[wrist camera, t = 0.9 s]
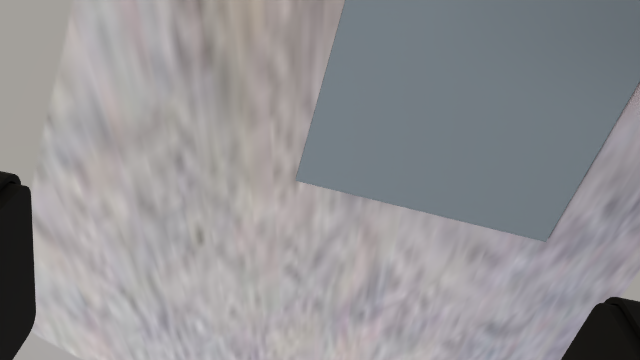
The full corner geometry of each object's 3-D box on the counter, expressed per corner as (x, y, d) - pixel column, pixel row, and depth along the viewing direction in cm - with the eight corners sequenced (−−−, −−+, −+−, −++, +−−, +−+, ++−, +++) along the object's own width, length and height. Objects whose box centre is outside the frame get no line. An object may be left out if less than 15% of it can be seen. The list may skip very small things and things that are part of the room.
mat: (420, -271, 23) (421, -273, 23) (772, -156, 25) (778, -156, 24) (296, 177, 34) (295, 180, 34) (543, 238, 36) (545, 241, 35)
